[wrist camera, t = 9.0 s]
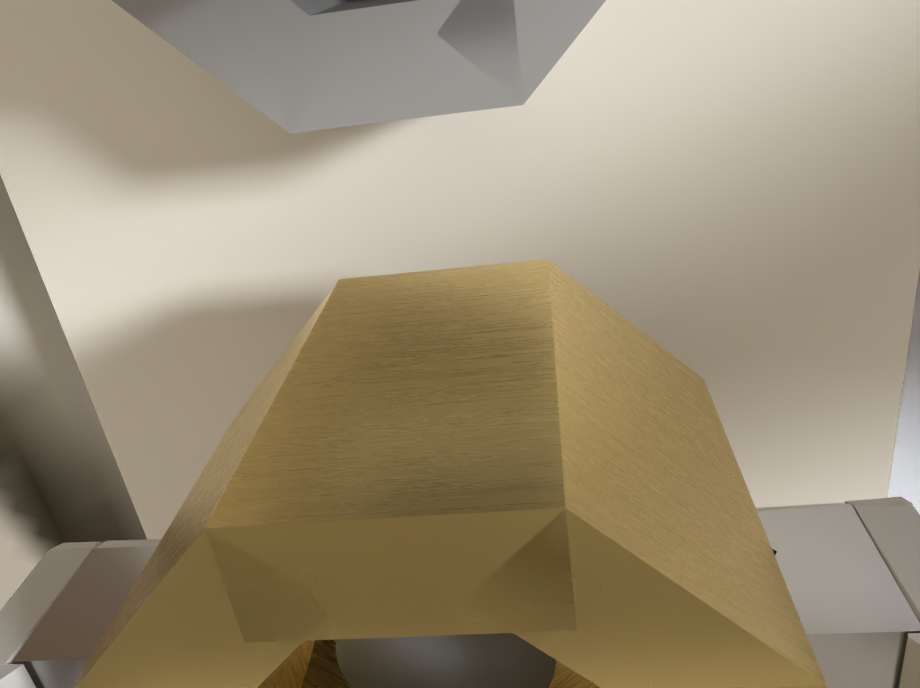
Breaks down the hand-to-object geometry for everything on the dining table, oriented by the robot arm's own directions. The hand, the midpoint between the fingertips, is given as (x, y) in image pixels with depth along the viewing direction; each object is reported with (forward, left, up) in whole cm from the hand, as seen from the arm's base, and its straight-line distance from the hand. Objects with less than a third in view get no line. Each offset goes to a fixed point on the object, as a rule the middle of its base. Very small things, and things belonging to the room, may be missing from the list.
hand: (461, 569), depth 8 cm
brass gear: (0, 0, -2) cm, 2 cm away
